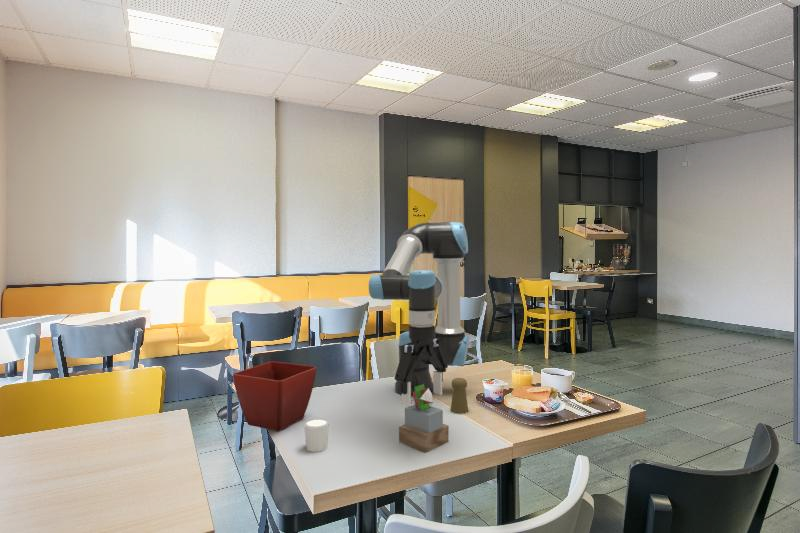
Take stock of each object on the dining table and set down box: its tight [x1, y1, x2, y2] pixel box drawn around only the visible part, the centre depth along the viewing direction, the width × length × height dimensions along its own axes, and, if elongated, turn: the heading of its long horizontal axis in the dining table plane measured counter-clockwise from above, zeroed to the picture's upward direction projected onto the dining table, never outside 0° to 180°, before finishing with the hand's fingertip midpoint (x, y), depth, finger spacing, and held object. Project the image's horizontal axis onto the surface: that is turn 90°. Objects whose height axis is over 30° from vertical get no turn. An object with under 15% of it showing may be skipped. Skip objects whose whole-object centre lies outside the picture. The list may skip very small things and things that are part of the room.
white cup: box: [303, 418, 330, 453], centre depth 134 cm, size 7×7×7 cm
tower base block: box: [398, 423, 450, 453], centre depth 137 cm, size 10×10×5 cm
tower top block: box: [404, 403, 444, 433], centre depth 136 cm, size 6×9×5 cm, turn 47°
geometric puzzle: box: [411, 384, 436, 411], centre depth 137 cm, size 7×7×8 cm
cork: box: [450, 377, 469, 415], centre depth 163 cm, size 6×6×11 cm
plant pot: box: [232, 361, 317, 432], centre depth 153 cm, size 19×19×17 cm
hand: (422, 399), depth 137 cm, fingers open, 13 cm apart
